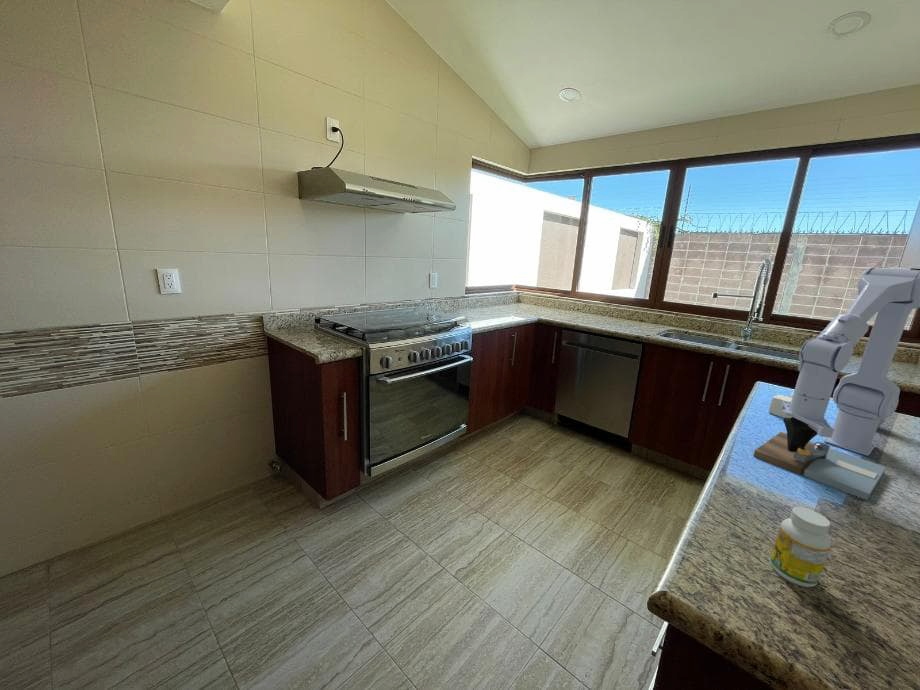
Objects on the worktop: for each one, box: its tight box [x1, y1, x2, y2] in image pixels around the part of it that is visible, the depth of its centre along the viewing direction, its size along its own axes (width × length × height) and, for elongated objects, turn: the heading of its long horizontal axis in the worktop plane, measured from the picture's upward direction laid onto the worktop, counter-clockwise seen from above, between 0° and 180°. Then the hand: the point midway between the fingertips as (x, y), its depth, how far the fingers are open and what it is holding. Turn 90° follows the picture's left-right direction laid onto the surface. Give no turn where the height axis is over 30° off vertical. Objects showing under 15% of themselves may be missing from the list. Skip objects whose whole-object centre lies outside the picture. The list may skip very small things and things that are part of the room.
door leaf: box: [802, 447, 887, 501], centre depth 81 cm, size 18×10×2 cm, turn 125°
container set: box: [768, 392, 794, 419], centre depth 115 cm, size 20×5×6 cm, turn 123°
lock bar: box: [793, 441, 831, 462], centre depth 83 cm, size 10×2×3 cm, turn 115°
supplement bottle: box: [769, 506, 832, 588], centre depth 54 cm, size 5×5×10 cm
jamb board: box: [753, 431, 817, 476], centre depth 88 cm, size 18×9×2 cm, turn 125°
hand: (793, 451), depth 84 cm, fingers closed
